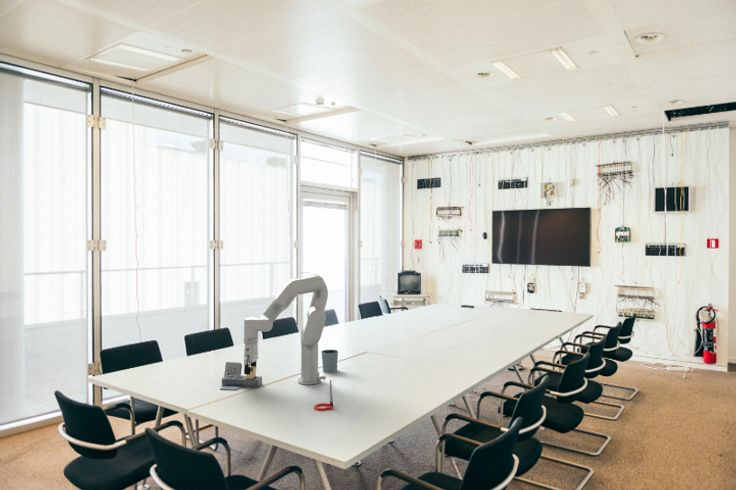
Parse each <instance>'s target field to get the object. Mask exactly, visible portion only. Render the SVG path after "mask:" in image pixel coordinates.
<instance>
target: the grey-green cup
mask: <svg viewBox="0 0 736 490" xmlns="http://www.w3.org/2000/svg"><path fill="white" fill-rule="evenodd" d="M338 356H339V350H336V349H324V350H321V361H322V372H323V373H326V374H329V373H330V374H331V373H333V374H334V373H336V372H338V358H339V357H338Z"/></svg>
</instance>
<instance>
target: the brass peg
mask: <svg viewBox="0 0 736 490" xmlns="http://www.w3.org/2000/svg"><path fill="white" fill-rule="evenodd" d="M245 376H246V379H253V380H254V379H255V378H256V376H257V365H256V366H251V365H250V374H245Z"/></svg>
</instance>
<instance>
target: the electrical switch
mask: <svg viewBox="0 0 736 490" xmlns="http://www.w3.org/2000/svg"><path fill="white" fill-rule="evenodd" d="M224 366H225V367H224V368H225V369H224V374H223V378H224V377H225V376H227V375H231V376H242V369H243V368H242V367H243V364H242V363H241V362H236V361H235V362H234V361H226V362H225V365H224Z"/></svg>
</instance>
